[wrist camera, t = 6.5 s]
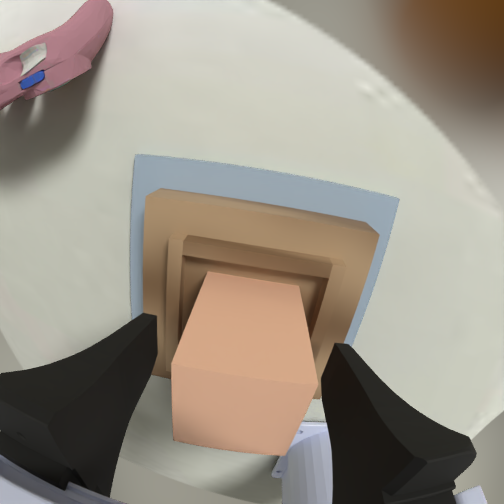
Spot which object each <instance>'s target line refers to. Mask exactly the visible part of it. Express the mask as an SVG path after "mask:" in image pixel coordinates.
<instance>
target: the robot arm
mask: <svg viewBox="0 0 504 504" xmlns="http://www.w3.org/2000/svg"><path fill="white" fill-rule="evenodd" d="M157 355H158V341H157V315H152V314H147V313H142V314H140V315H139V316H137V317H136V318H134V319H133V320H132V321H130V322H129V323H127V324H126V325H124V326H123V327H122V328H120V329H119V330H117V331H116V332H114V333H113V334H111V335H110V336H108V337H106V338H105V339H103V340H101V341H100V342H98V343H96V344H95V345H93V346H91V347H89V348H87V349H85V350H83V351H81V352H79V353H77V354H75V355H73V356H70V357H68V358H65V359H62V360H59V361H56V362H54V363H51V364H48V365H44V366H40V367H36V368H32V369H27V370H22V371H14V372H6V373H1V374H0V430H1V431H0V504H126V503H123V502H120V501H117V500H114V499H111V498H110V492H111V487H112V482H113V477H114V473H115V469H116V464H117V461H118V457H119V453H120V449H121V446H122V442H123V439H124V436H125V433H126V430H127V426H128V423H129V421H130V418H131V416H132V413H133V411H134V409H135V407H136V405H137V403H138V401H139V399H140V397H141V394H142V392H143V390H144V388H145V386H146V384H147V382H148V380H149V378H150V376H151V373H152V370H153V367H154V365H155V361H156V358H157ZM321 394H322V402H323V408H324V413H325V418H326V422H304V421H302V422H301V425H300V427H299V429H298V431H297V433H296V435H295V437H294V439H293V441H292V443H291V445H290V447H289V449H288V451H287V453H286V455H285V456H280V457H279V459H278V461H277V463H276V465H275V467H274V469H273V471H272V473H271V476H272V477H274V478H282V504H487V502H486V499H485V497H484V494H483V492H482V489H481V486H480V485H478V486H475V487H473V488H470V489H467V490H465V491H462V492H460V493H458V494H456V495H453V492H452V490H453V489H455V487H456V485H455V482H454V480H455V479H456V478H457V477H458V476H459V475H460V474H461V473H463V472H464V470H466V469H467V468H468V467H469V466H470V465H471V463H472V462H473V461H474V459H475V458H476V451H475V449H474V447H473V444H472V442H471V440H470V438H469V437H468V436H465V435H463V434H460V433H458V432H455V431H453V430H451V429H448V428H446V427H444V426H442V425H440V424H438V423H437V422H435V421H433V420H431V419H430V418H428V417H426V416H425V415H423V414H422V413H420V412H419V411H417V410H416V409H414V408H413V407H412V406H410V405H409V404H408V403H406V402H405V401H404V400H403V399H401V398H400V397H399V396H398V395H397V394H396V393H394V392H393V391H392V390H391V389H390V388H389V387H388V386H387V385H386V384H385V383H384V382H383V381H382V380H381V379H380V378H379V377H378V376H377V375H376V374H375V373H374V372H373V371H372V369H371V368H370V367H369V366H368V365H367V364H366V363H365V362H364V360H363V359H362V358H361V357H360V356H359V355H358V354H357V352H356V351H355V350H354V349H353V348H352V347H351V346H350V345H349V344H345V343H334V346H333V348H332V351H331V354H330V356H329V359H328V361H327V364H326V366H325V369H324V371H323V374H322V376H321Z"/></svg>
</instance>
